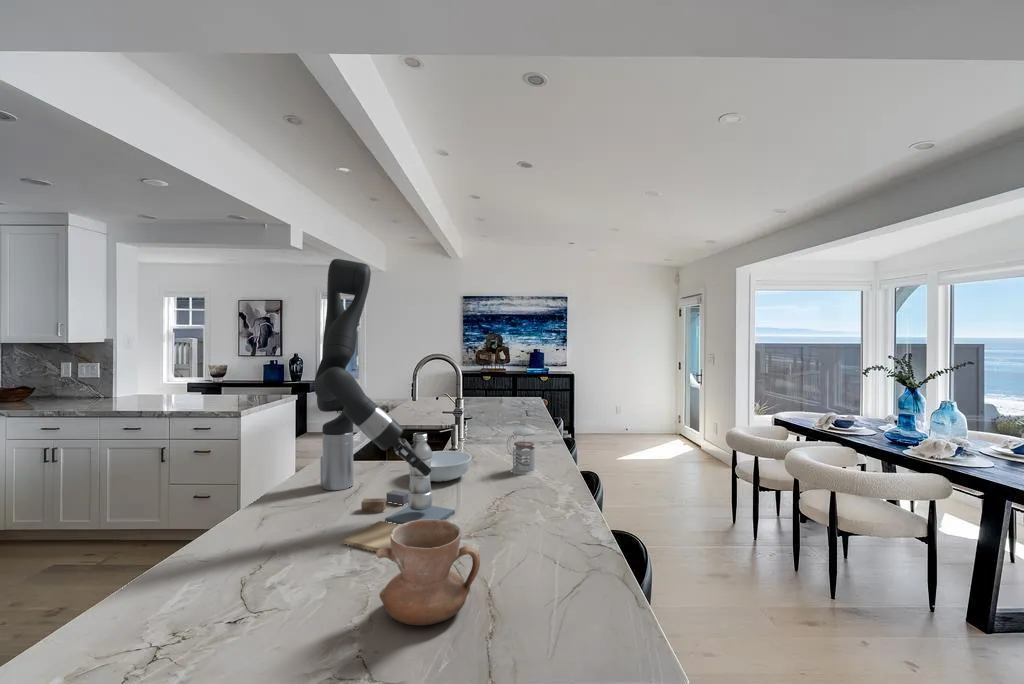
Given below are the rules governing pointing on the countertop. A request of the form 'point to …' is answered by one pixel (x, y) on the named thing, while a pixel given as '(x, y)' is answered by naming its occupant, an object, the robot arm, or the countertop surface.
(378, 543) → the oak mat
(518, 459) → the french press
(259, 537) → the countertop surface
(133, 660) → the countertop surface
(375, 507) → the walnut brick
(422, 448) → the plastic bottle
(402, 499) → the charcoal brick
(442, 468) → the serving bowl
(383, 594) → the ceramic jug
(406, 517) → the slate mat
